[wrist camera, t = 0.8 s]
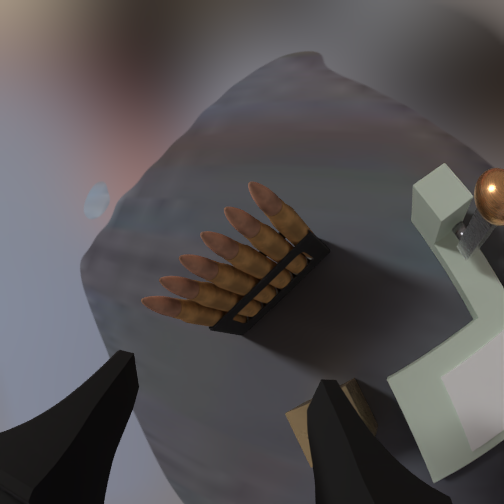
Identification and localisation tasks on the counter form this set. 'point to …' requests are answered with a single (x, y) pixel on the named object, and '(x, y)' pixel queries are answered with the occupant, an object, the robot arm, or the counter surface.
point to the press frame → (455, 344)
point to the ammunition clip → (243, 268)
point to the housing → (357, 399)
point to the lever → (482, 213)
